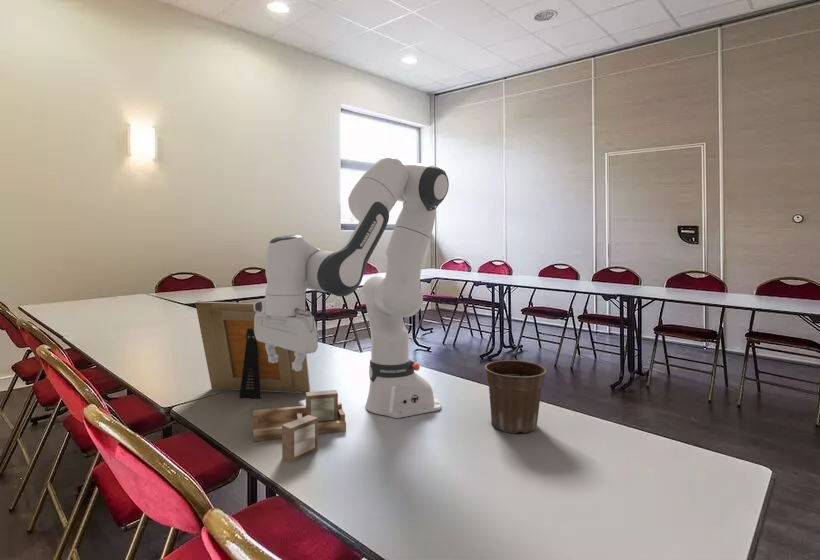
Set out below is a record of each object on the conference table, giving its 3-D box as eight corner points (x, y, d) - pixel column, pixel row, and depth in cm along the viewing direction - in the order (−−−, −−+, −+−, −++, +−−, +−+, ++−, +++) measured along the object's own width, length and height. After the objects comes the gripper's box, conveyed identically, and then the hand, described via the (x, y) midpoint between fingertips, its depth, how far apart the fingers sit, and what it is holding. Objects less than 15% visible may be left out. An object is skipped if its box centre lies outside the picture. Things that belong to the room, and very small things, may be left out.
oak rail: (340, 419, 133) (341, 402, 133) (346, 431, 126) (346, 412, 125) (253, 428, 126) (253, 410, 126) (253, 441, 119) (253, 421, 118)
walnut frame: (309, 446, 117) (309, 414, 116) (318, 450, 115) (318, 418, 114) (282, 458, 110) (281, 425, 110) (291, 462, 108) (290, 428, 108)
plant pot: (473, 428, 129) (475, 369, 127) (495, 410, 143) (497, 356, 141) (533, 443, 121) (536, 380, 119) (550, 421, 134) (553, 365, 133)
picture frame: (310, 392, 155) (309, 300, 152) (300, 403, 146) (299, 305, 143) (213, 387, 159) (211, 297, 156) (197, 398, 149) (194, 302, 146)
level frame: (336, 418, 130) (336, 389, 130) (337, 422, 127) (337, 393, 127) (305, 421, 128) (305, 392, 127) (307, 426, 125) (306, 396, 124)
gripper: (325, 310, 105) (324, 372, 106) (272, 301, 118) (272, 356, 119) (301, 312, 100) (300, 378, 101) (249, 302, 114) (249, 360, 115)
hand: (284, 366), depth 110 cm, fingers open, 8 cm apart
